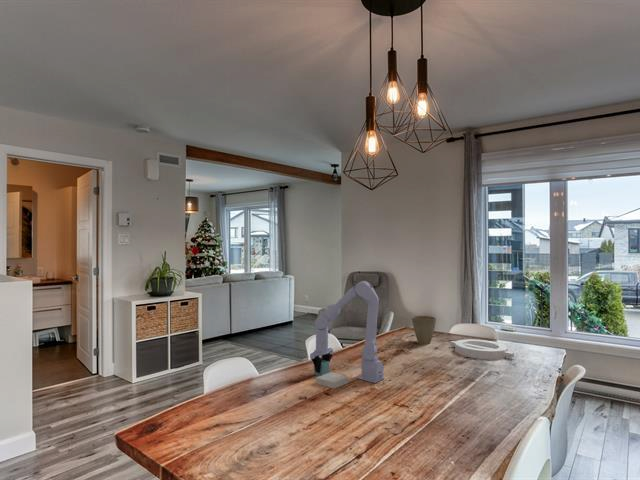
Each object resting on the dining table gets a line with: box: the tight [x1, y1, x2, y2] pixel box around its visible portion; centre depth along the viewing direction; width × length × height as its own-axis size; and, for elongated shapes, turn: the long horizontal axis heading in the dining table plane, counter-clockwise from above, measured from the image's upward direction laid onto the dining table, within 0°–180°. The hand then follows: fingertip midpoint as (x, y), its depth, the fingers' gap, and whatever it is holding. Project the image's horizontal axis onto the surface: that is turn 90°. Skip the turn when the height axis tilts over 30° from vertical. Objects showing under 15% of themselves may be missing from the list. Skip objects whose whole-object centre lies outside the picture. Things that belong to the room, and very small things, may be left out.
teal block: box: [313, 360, 330, 377], centre depth 184 cm, size 5×5×6 cm
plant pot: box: [411, 315, 437, 345], centre depth 250 cm, size 15×15×16 cm
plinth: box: [315, 371, 349, 389], centre depth 173 cm, size 10×10×2 cm
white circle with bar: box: [450, 338, 515, 360], centre depth 227 cm, size 28×28×5 cm
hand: (321, 370), depth 184 cm, fingers closed on teal block, 5 cm apart
